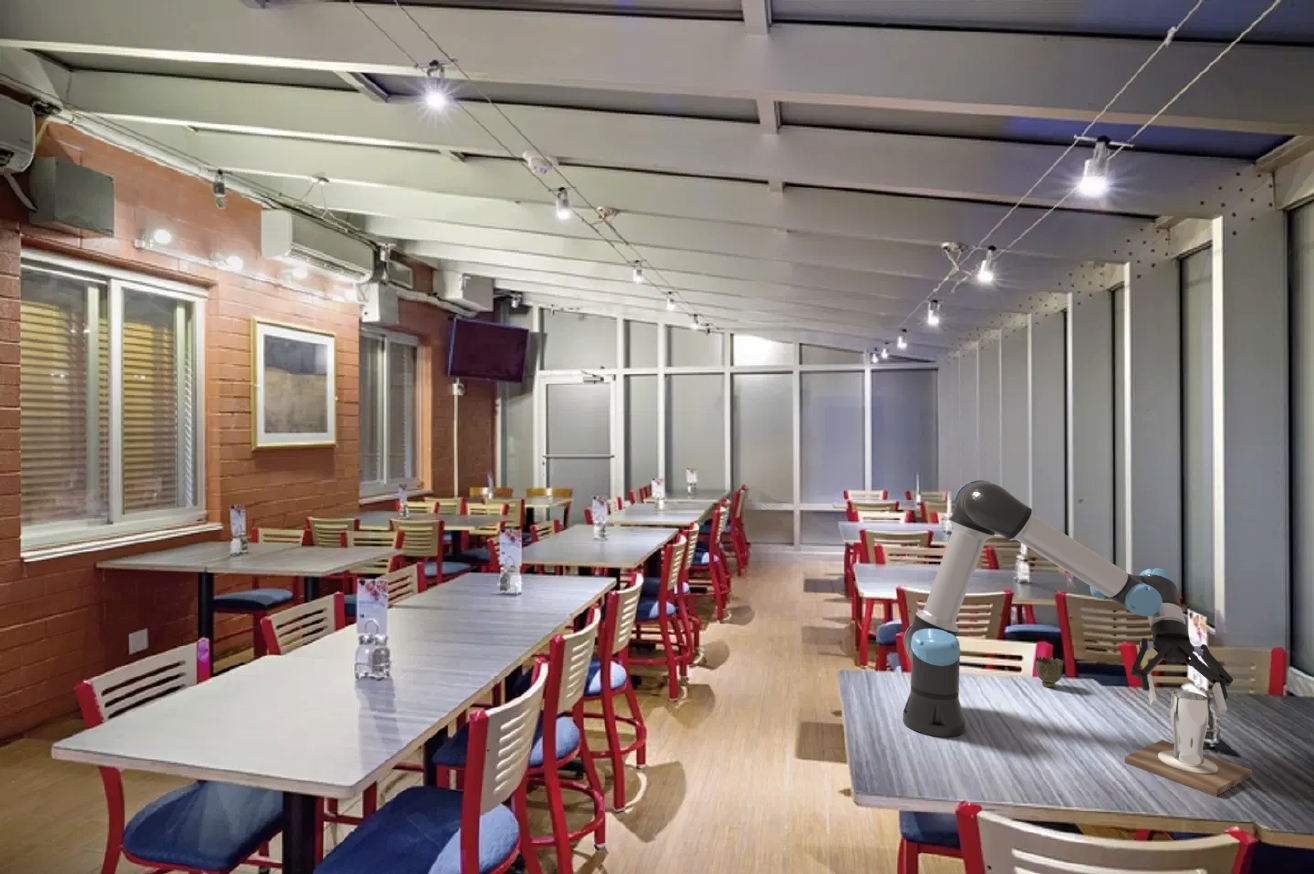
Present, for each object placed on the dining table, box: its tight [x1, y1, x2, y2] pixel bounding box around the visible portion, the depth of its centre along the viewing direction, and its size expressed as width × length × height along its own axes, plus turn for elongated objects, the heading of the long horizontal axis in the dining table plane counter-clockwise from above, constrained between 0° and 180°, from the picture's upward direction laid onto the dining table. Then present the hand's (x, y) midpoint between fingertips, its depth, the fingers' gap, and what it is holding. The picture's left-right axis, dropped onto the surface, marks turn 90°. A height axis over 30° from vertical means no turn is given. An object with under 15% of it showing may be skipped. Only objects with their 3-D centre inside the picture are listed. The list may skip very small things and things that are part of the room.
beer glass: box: [1169, 689, 1209, 767], centre depth 165 cm, size 7×7×15 cm
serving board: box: [1124, 739, 1253, 797], centre depth 165 cm, size 18×18×2 cm
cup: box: [1034, 656, 1064, 689], centre depth 219 cm, size 8×7×8 cm
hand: (1188, 707), depth 167 cm, fingers open, 13 cm apart
